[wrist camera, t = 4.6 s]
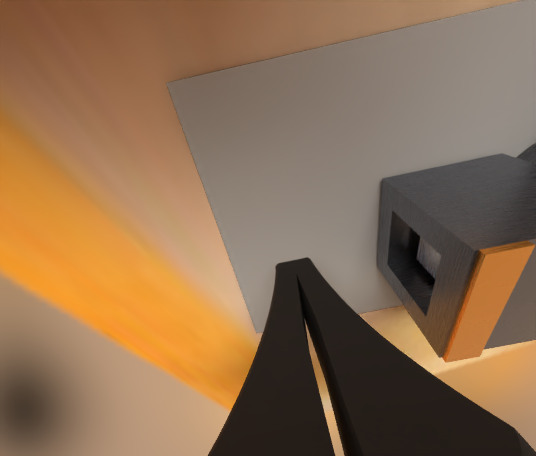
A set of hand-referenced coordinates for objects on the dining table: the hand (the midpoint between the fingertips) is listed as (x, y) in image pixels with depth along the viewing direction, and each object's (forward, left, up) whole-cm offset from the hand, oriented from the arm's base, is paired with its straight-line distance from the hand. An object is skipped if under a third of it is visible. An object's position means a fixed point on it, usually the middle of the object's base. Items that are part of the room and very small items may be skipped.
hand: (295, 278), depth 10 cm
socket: (-7, 0, -2) cm, 7 cm away
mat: (-6, -1, -3) cm, 7 cm away
